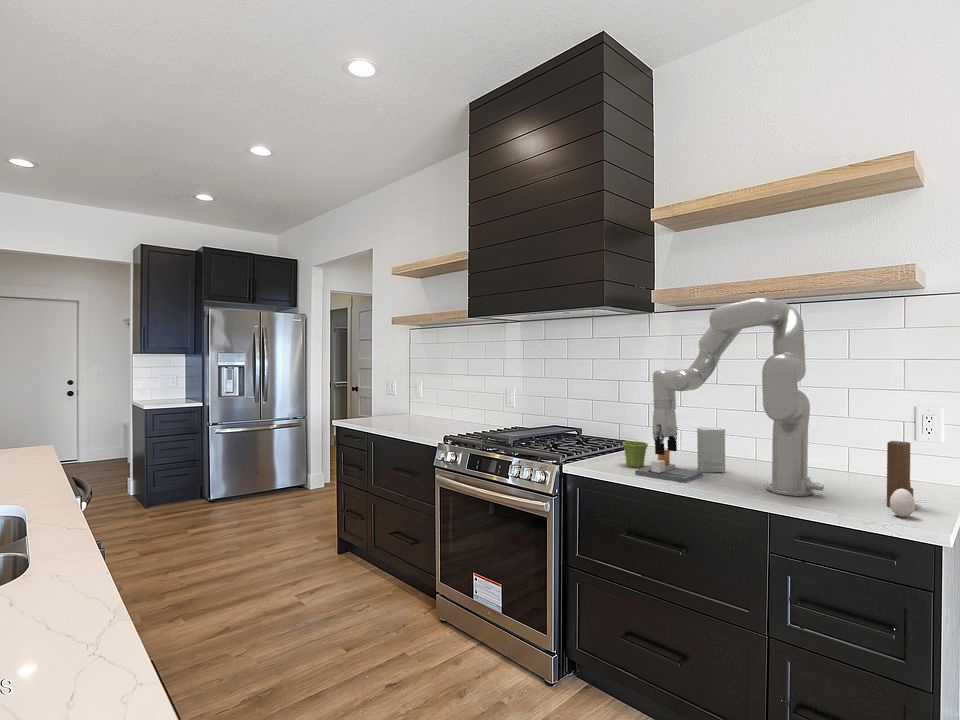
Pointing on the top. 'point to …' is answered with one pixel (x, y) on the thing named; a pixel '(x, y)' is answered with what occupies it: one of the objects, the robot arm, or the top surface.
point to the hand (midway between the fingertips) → (666, 452)
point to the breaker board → (671, 474)
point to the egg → (902, 503)
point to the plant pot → (635, 453)
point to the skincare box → (711, 449)
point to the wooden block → (898, 468)
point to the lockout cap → (665, 457)
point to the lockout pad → (670, 466)
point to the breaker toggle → (658, 466)
